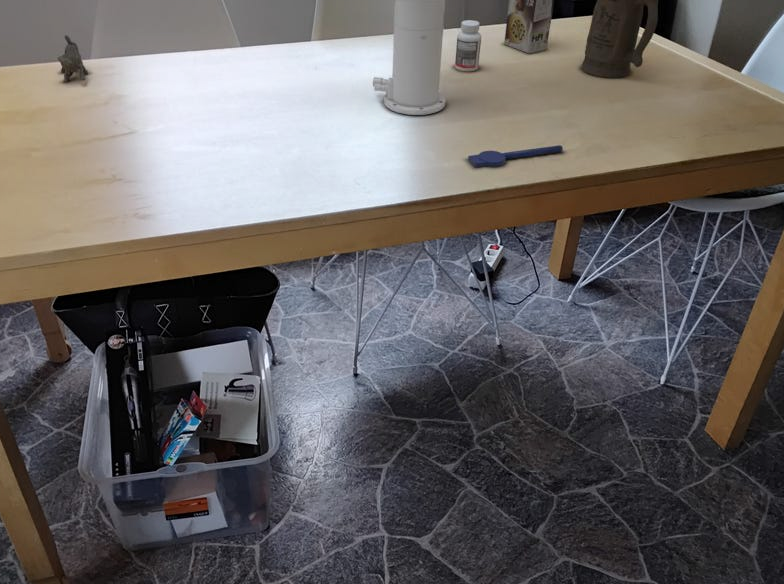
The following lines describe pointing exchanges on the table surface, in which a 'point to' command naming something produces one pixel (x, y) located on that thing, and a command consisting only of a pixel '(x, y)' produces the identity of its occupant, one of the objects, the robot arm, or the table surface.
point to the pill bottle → (468, 46)
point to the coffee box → (528, 24)
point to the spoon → (508, 156)
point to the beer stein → (618, 36)
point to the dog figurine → (71, 61)
